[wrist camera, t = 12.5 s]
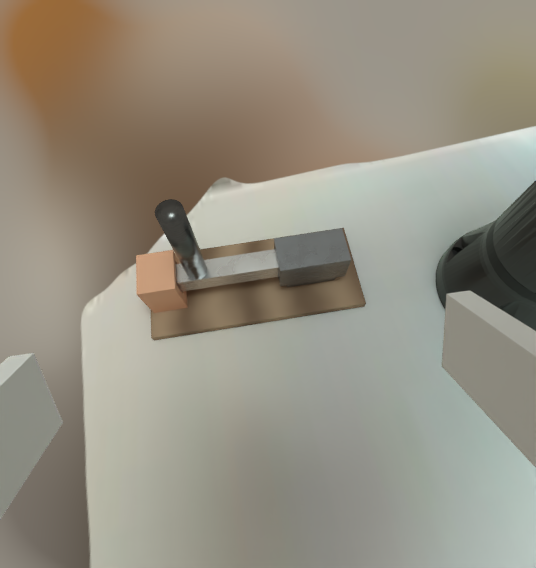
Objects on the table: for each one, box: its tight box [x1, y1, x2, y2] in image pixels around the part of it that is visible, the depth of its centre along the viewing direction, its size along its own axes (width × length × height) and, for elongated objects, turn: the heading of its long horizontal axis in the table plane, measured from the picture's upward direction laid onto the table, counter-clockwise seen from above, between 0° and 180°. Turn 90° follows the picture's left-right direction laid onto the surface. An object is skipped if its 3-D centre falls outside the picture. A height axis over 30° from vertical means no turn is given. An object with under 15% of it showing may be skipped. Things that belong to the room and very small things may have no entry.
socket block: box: [136, 250, 188, 313], centre depth 42 cm, size 4×5×6 cm
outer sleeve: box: [274, 228, 351, 287], centre depth 43 cm, size 8×4×6 cm, turn 99°
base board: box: [151, 228, 366, 340], centre depth 45 cm, size 26×11×1 cm, turn 99°
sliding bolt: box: [155, 199, 279, 292], centre depth 37 cm, size 17×2×14 cm, turn 99°
